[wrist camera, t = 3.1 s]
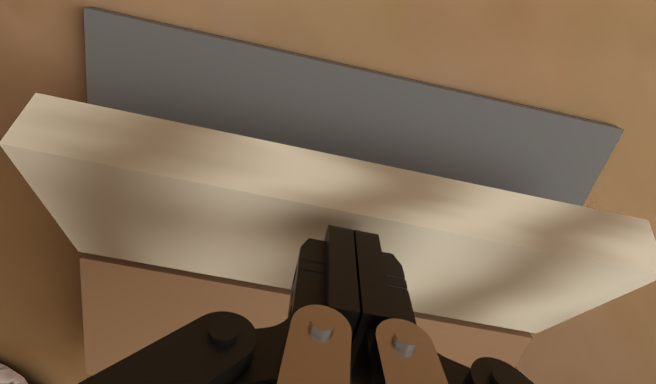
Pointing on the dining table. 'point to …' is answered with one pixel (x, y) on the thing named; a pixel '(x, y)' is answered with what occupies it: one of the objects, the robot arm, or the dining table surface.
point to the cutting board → (319, 135)
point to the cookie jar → (10, 376)
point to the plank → (318, 215)
